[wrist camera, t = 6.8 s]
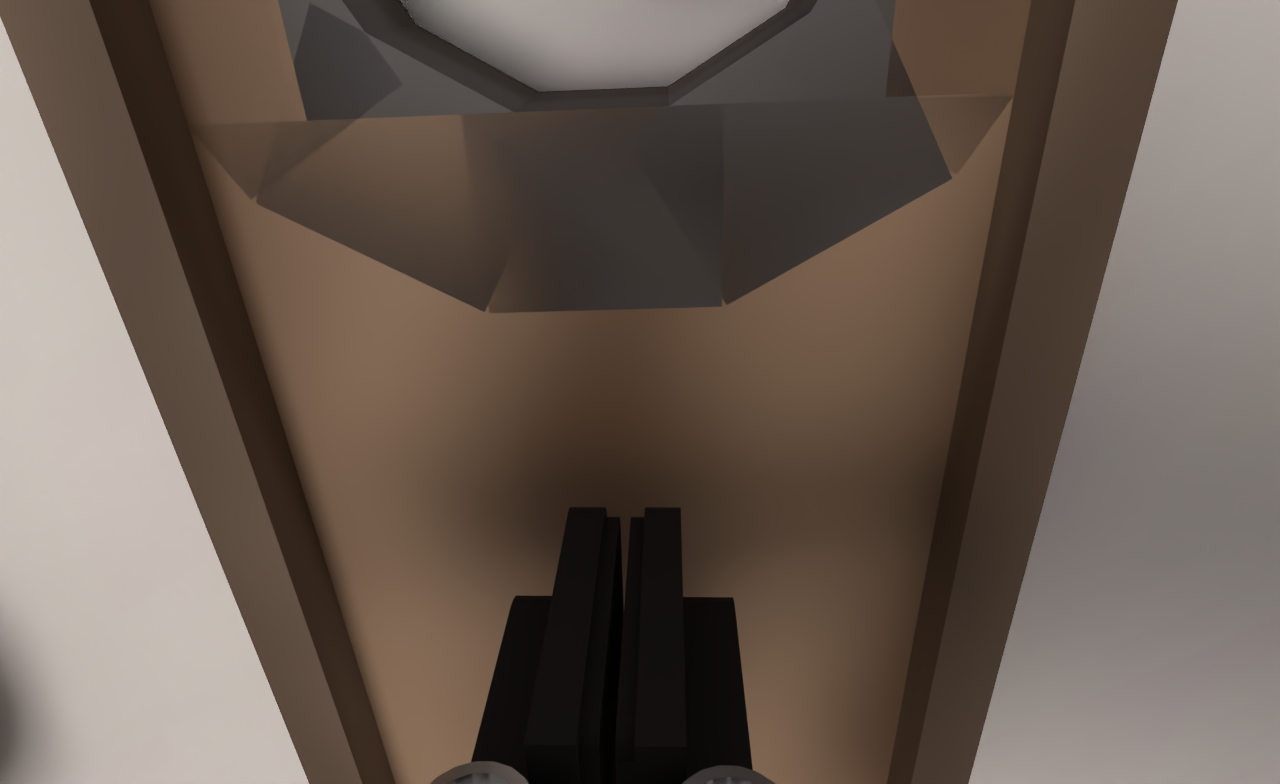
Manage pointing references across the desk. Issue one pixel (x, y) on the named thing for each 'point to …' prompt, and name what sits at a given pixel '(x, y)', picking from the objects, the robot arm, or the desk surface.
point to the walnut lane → (609, 338)
